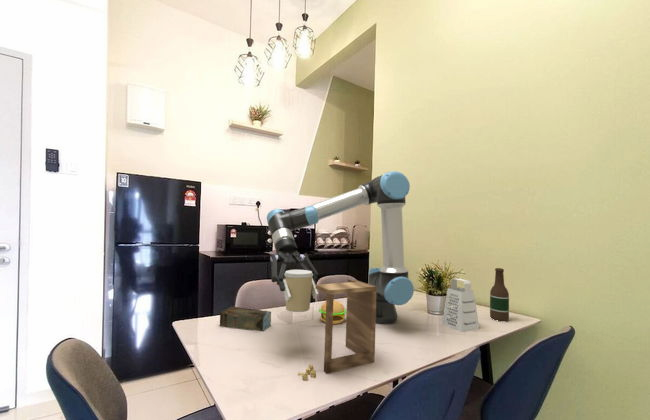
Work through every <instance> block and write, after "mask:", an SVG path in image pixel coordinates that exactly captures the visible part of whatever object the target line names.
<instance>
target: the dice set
mask: <svg viewBox="0 0 650 420" xmlns="http://www.w3.org/2000/svg"><path fill="white" fill-rule="evenodd" d="M309 375H310V378H312V379H313V378H314V379H315V378H316V377H317V371H316V369H315V370H314V365H313V364H309V365H308V367H306V368H305V372H302V371H298V372H297V376H301V378H302V379H301V380H302V381H305V382H306V381H308V379H309Z"/></svg>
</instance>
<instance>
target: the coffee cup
mask: <svg viewBox="0 0 650 420" xmlns="http://www.w3.org/2000/svg"><path fill="white" fill-rule="evenodd" d="M312 276H313V274H312V271H309V270H299V269H289V270H285V272H284V276H283V277H284V279H286V282H287V285H288V289H289V292H290V295H291V297H290V299H289V301H288V302H286V301H285V310H286V311H288V312H290V313H291V312H292V313H304V312H307V311H309V310H310V308H311V298H312V293H311V288H312Z"/></svg>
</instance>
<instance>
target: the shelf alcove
mask: <svg viewBox="0 0 650 420" xmlns="http://www.w3.org/2000/svg"><path fill="white" fill-rule="evenodd" d="M376 288H377V286H373V285H370V284H369V283H366V282H363V281H360V280H357V279H354V278H347V282H336V283H334V282H333V283H322V284H317V285H316V286H315V289H317V291H320V292H322V293H325V294H326V295H325V296H326V301H325V302H326V323H325V322H324V323H325V327H324V329H325V332H324V352H323V353H324V355H323V356H324V358H323V372H324V373H325V374H330V373H334V372H339V371H344V370H347V369H351V368H356V367H359V366H360V367H361V366H364V365H368V364H372V363H375V357H376V355H375V354H376V327H377V326H376V324H377V323H376ZM339 294H346V315H345V316H346V317H345V318H346V321H345V322H346V323H345V324H346V326H345V347H346V348H347V349H349V350H350V351H351V352H353V354H348V355H343V356H337V357H333V358H332V355H333V354H332V353H333V352H332V351H333V325H334V324H333V300H334V297H335V296H334V295H339Z"/></svg>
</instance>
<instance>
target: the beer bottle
mask: <svg viewBox="0 0 650 420" xmlns="http://www.w3.org/2000/svg"><path fill="white" fill-rule="evenodd" d="M494 271H495V272H494V273H495V274H494V275H495V277H494V283H493V284H494V285H493V286H492V287H491V289H490V292H489V293H490V294H489V317H491V318H492V319H491V318H490V319H491V320H493V319H494V320H493V321H496V320H498V321H497V322H501V321H507V322H509V319H510V295H509V290H508V288H507V287H506V286H505V278H504V277H505V276H504V275H505V274H504V271H505V270H504V268H501V267H500V268H499V267H496V268H495V269H494Z"/></svg>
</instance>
